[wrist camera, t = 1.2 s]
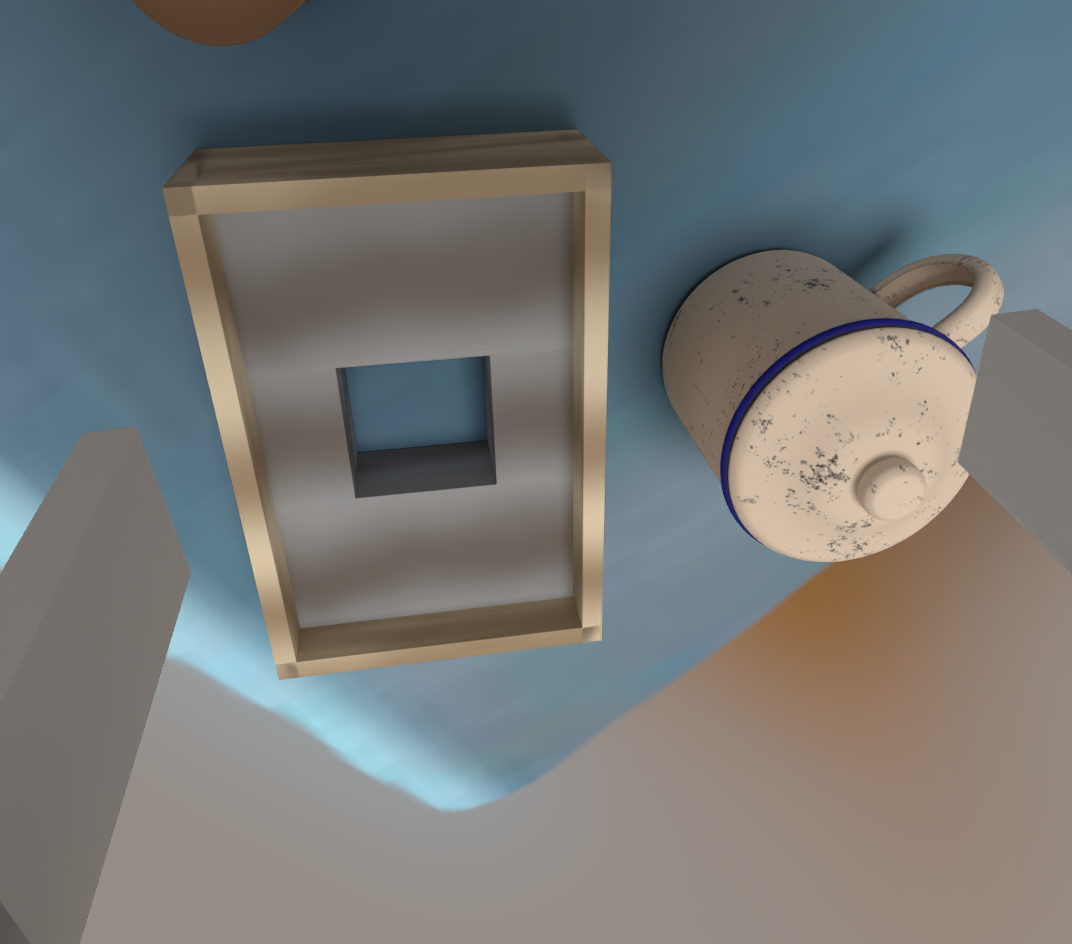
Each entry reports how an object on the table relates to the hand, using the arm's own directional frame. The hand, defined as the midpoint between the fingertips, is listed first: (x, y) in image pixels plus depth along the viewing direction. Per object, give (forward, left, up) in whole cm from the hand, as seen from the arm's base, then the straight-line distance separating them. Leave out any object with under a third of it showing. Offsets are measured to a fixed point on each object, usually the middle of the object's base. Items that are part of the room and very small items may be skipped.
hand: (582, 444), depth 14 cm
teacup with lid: (+7, +13, -21) cm, 25 cm away
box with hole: (+8, -3, -20) cm, 22 cm away
